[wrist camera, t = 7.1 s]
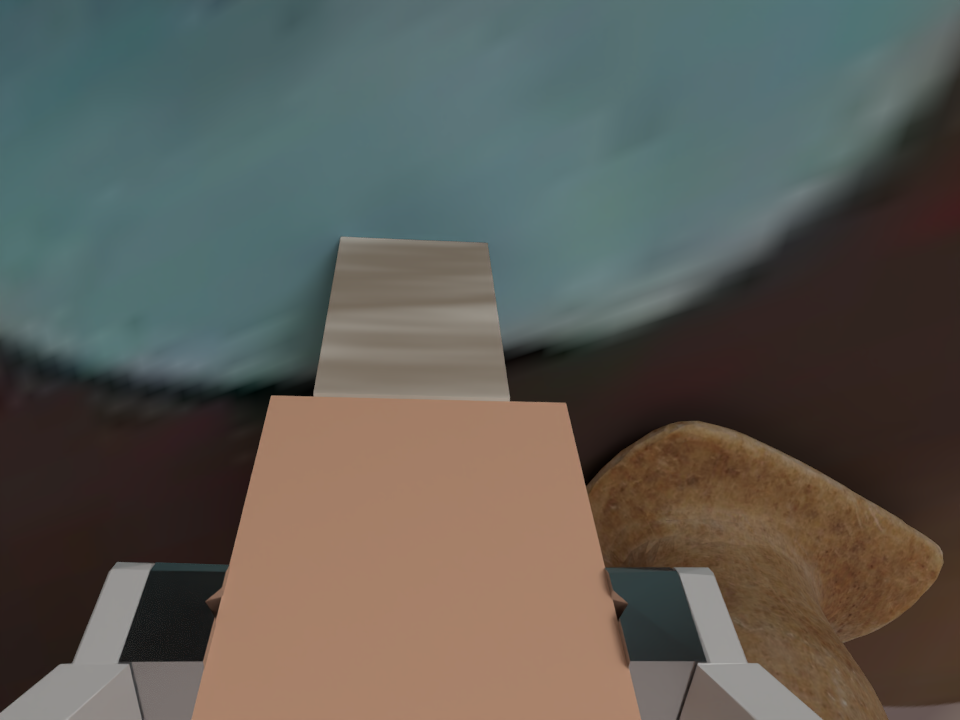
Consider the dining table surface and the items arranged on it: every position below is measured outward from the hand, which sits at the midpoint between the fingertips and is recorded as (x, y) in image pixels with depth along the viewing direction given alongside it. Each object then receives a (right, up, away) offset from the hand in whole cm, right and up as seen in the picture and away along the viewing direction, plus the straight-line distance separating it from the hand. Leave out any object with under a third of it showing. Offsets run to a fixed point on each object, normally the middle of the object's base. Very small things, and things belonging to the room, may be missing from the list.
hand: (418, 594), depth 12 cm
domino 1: (-1, +7, +18) cm, 19 cm away
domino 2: (0, +2, +3) cm, 4 cm away
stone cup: (+11, -4, +26) cm, 29 cm away
